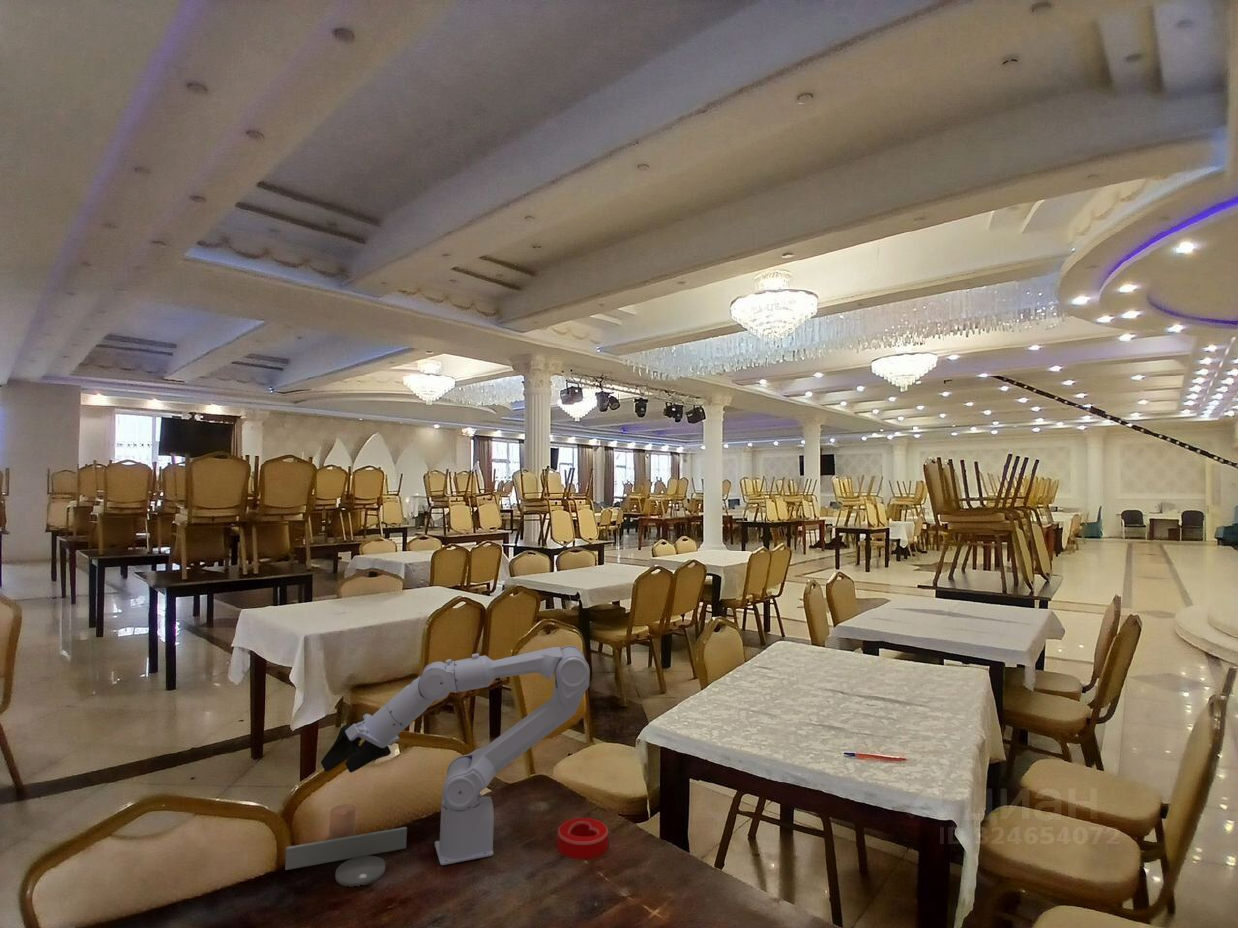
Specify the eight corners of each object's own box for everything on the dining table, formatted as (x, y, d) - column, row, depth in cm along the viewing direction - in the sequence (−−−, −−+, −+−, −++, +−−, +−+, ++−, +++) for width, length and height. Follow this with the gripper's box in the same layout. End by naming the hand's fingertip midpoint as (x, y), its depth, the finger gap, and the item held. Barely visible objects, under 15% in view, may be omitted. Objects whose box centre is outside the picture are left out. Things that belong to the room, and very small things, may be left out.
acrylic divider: (405, 845, 120) (406, 826, 120) (406, 848, 119) (406, 828, 119) (285, 867, 112) (286, 846, 112) (285, 869, 111) (286, 849, 111)
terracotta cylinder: (353, 834, 123) (355, 802, 124) (354, 846, 119) (356, 812, 120) (328, 839, 121) (330, 806, 122) (328, 850, 117) (330, 816, 118)
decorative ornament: (546, 849, 120) (547, 832, 120) (577, 828, 128) (578, 812, 128) (588, 866, 115) (588, 847, 115) (617, 843, 123) (618, 826, 123)
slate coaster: (383, 856, 116) (383, 852, 116) (386, 880, 108) (386, 875, 109) (335, 865, 113) (335, 860, 113) (335, 890, 105) (335, 885, 105)
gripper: (405, 701, 126) (349, 751, 124) (366, 692, 113) (302, 746, 111) (423, 731, 123) (365, 782, 121) (385, 724, 110) (319, 781, 108)
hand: (336, 767), depth 116 cm, fingers open, 7 cm apart
